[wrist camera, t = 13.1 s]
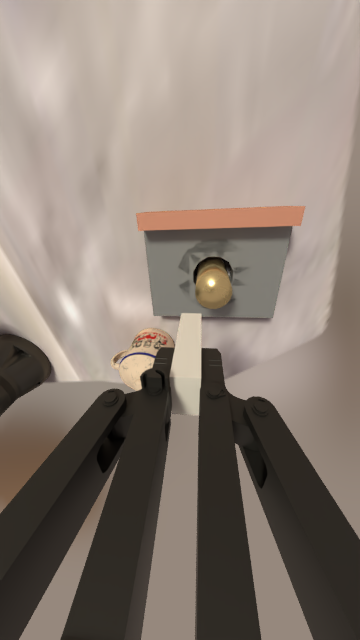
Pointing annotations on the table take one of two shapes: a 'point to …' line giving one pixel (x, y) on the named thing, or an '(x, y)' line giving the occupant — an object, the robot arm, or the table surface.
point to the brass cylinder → (213, 283)
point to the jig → (218, 241)
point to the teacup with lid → (140, 355)
